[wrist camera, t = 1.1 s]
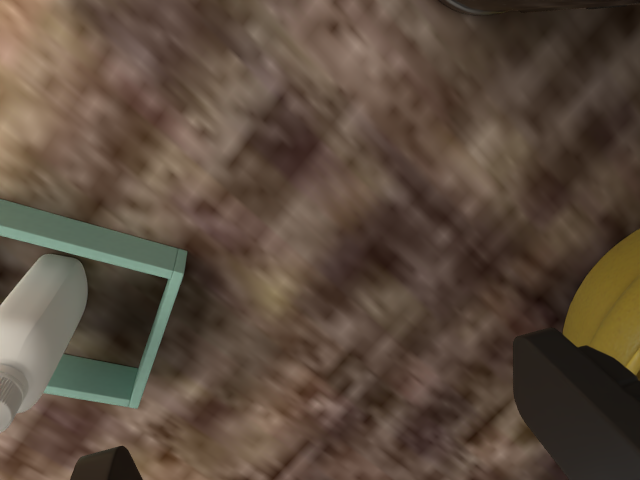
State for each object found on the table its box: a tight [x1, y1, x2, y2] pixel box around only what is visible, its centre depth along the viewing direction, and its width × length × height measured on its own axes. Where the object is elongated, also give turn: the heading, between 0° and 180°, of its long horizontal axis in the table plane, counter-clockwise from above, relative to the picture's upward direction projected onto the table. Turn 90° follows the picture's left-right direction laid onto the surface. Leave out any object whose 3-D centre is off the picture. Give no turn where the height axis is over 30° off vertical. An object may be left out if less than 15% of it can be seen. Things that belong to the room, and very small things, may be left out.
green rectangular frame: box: [0, 199, 187, 409], centre depth 28 cm, size 13×10×3 cm
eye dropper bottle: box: [0, 254, 88, 433], centre depth 24 cm, size 4×6×12 cm
